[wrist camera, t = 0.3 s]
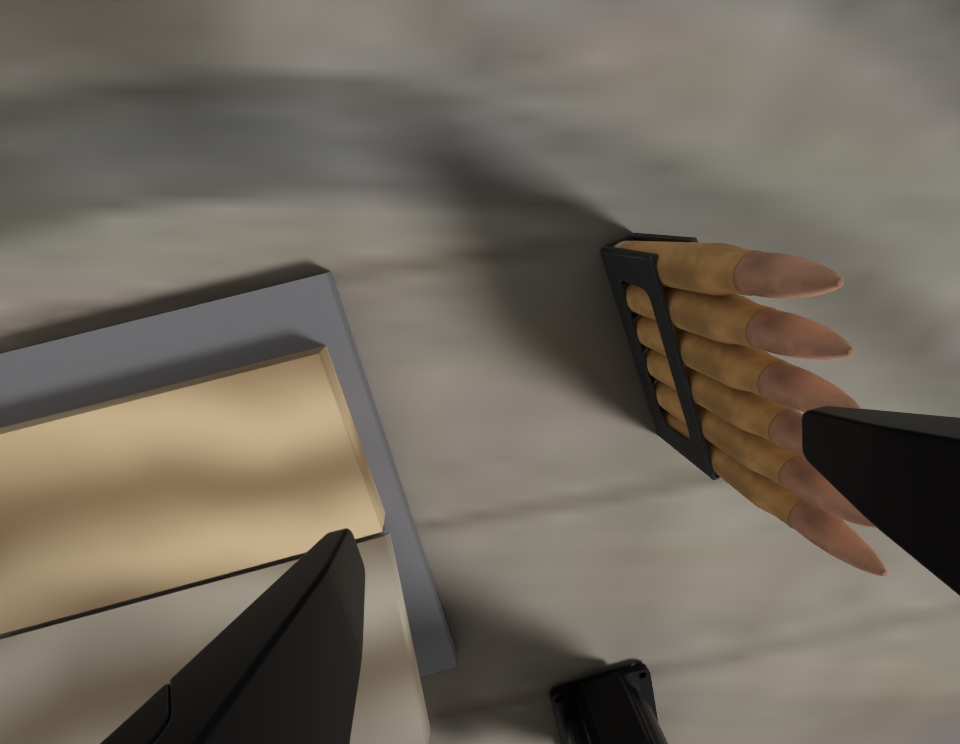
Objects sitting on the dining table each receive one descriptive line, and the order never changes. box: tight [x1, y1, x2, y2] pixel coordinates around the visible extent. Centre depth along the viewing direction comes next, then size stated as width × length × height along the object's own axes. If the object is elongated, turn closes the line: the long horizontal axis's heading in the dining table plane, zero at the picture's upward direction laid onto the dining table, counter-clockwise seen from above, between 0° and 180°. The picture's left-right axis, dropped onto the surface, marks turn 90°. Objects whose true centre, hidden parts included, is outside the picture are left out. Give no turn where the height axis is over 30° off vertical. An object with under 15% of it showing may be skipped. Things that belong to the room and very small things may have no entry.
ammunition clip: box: [600, 233, 887, 576], centre depth 17 cm, size 11×2×12 cm, turn 23°
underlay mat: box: [0, 272, 458, 677], centre depth 23 cm, size 23×22×1 cm
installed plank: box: [0, 346, 385, 634], centre depth 20 cm, size 9×20×2 cm, turn 103°
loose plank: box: [0, 533, 431, 744], centre depth 21 cm, size 9×20×2 cm, turn 103°
